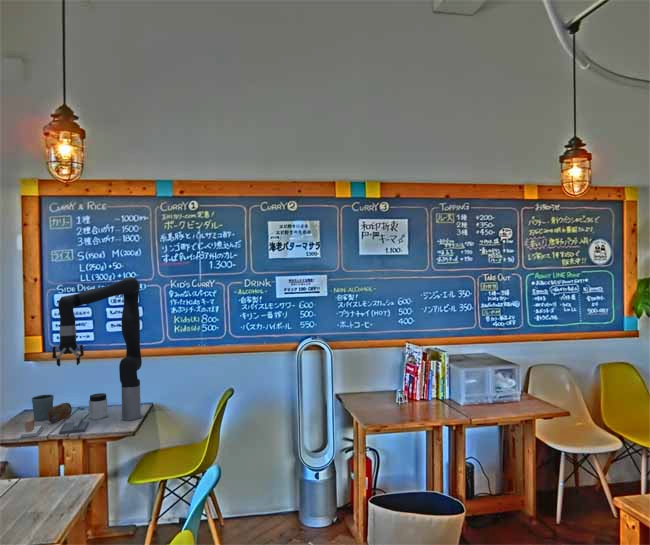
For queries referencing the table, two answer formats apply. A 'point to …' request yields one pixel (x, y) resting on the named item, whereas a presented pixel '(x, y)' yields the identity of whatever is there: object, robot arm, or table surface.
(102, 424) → the table surface
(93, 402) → the jar
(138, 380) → the robot arm
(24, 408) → the table surface
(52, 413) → the tin
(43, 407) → the blue pot
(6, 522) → the table surface
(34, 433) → the white plate with block
